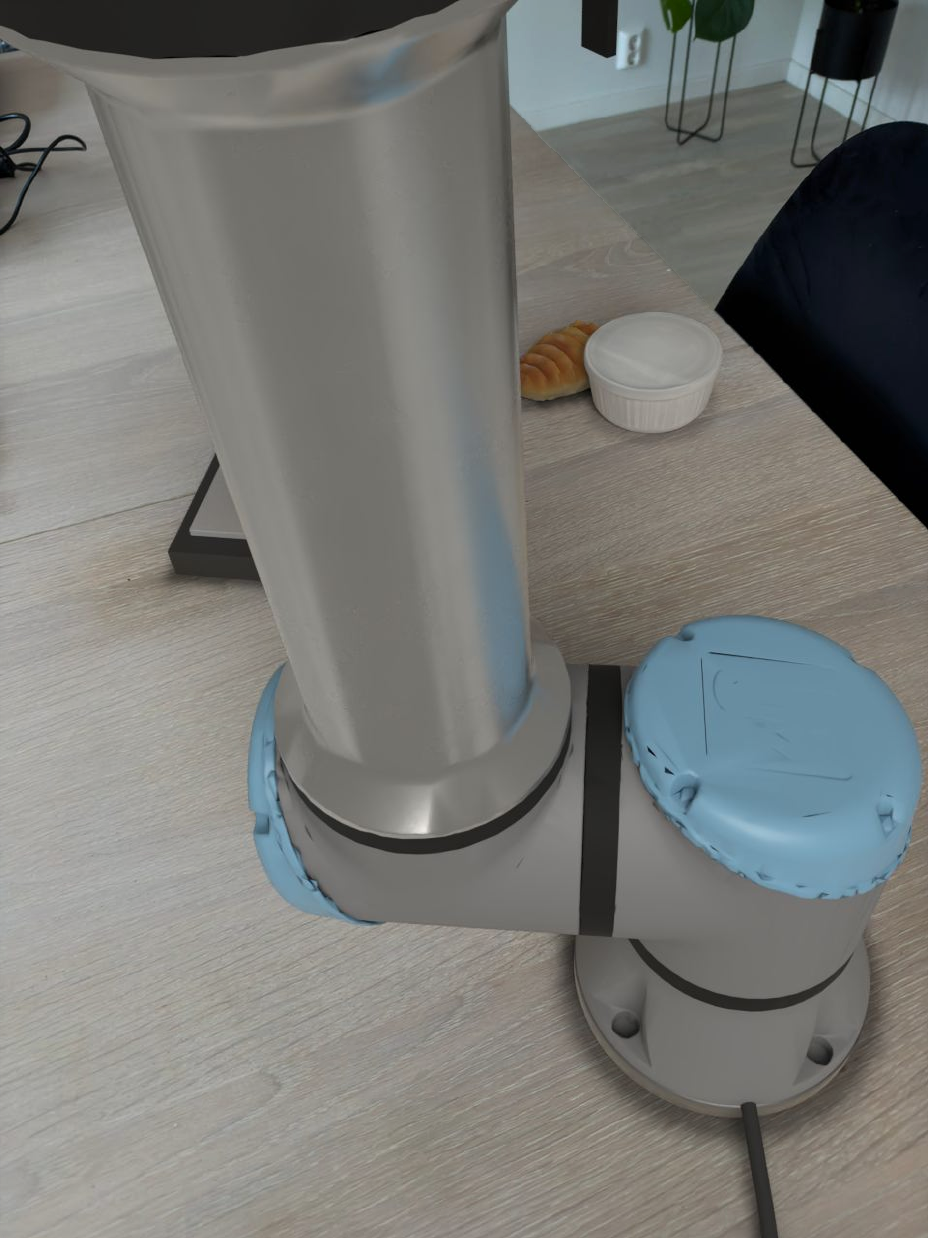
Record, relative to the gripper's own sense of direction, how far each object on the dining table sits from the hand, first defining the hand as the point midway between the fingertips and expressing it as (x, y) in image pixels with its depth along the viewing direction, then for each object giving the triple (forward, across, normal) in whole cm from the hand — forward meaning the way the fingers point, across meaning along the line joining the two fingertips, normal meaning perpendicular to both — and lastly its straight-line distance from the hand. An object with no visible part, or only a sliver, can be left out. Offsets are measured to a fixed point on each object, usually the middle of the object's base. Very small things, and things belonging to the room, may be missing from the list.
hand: (513, 80), depth 69 cm
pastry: (+27, -8, -5) cm, 29 cm away
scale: (+29, +18, -4) cm, 34 cm away
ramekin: (+29, -11, +2) cm, 31 cm away
